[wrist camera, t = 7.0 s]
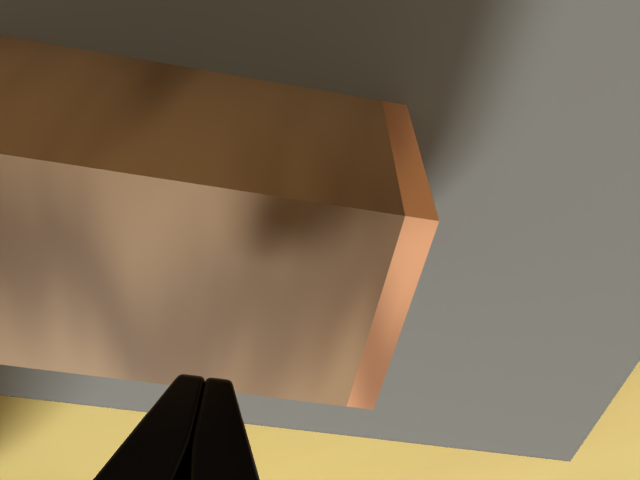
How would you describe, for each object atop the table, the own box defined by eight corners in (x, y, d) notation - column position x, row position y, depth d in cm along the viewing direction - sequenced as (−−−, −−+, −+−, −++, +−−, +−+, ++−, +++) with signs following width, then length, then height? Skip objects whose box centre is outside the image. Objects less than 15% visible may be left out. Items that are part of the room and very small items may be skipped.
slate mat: (562, 443, 23) (570, 461, 22) (-39, 371, 21) (-50, 389, 20) (979, -191, 12) (1018, -191, 11) (-245, -488, 10) (-286, -510, 9)
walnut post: (373, 410, 13) (-111, 351, 12) (361, 268, 17) (-3, 215, 16) (439, 221, 10) (-186, 125, 9) (406, 104, 14) (-32, 29, 13)
